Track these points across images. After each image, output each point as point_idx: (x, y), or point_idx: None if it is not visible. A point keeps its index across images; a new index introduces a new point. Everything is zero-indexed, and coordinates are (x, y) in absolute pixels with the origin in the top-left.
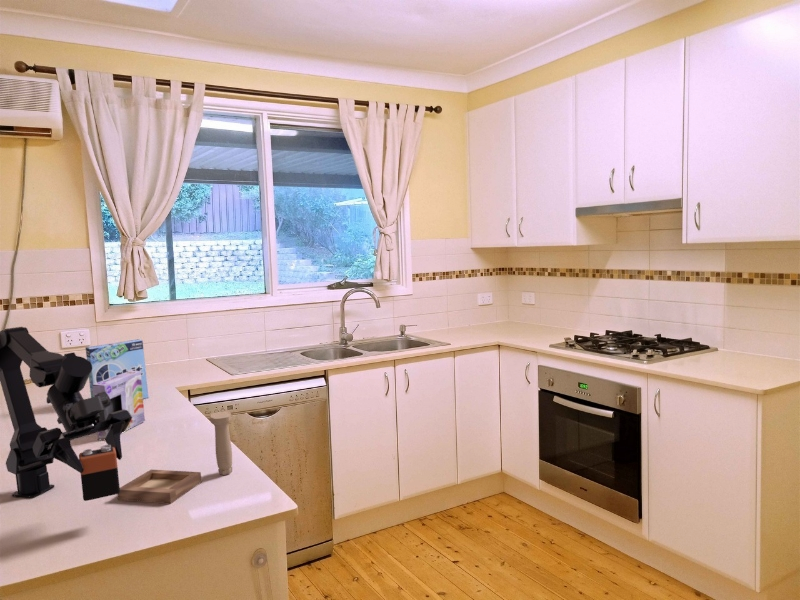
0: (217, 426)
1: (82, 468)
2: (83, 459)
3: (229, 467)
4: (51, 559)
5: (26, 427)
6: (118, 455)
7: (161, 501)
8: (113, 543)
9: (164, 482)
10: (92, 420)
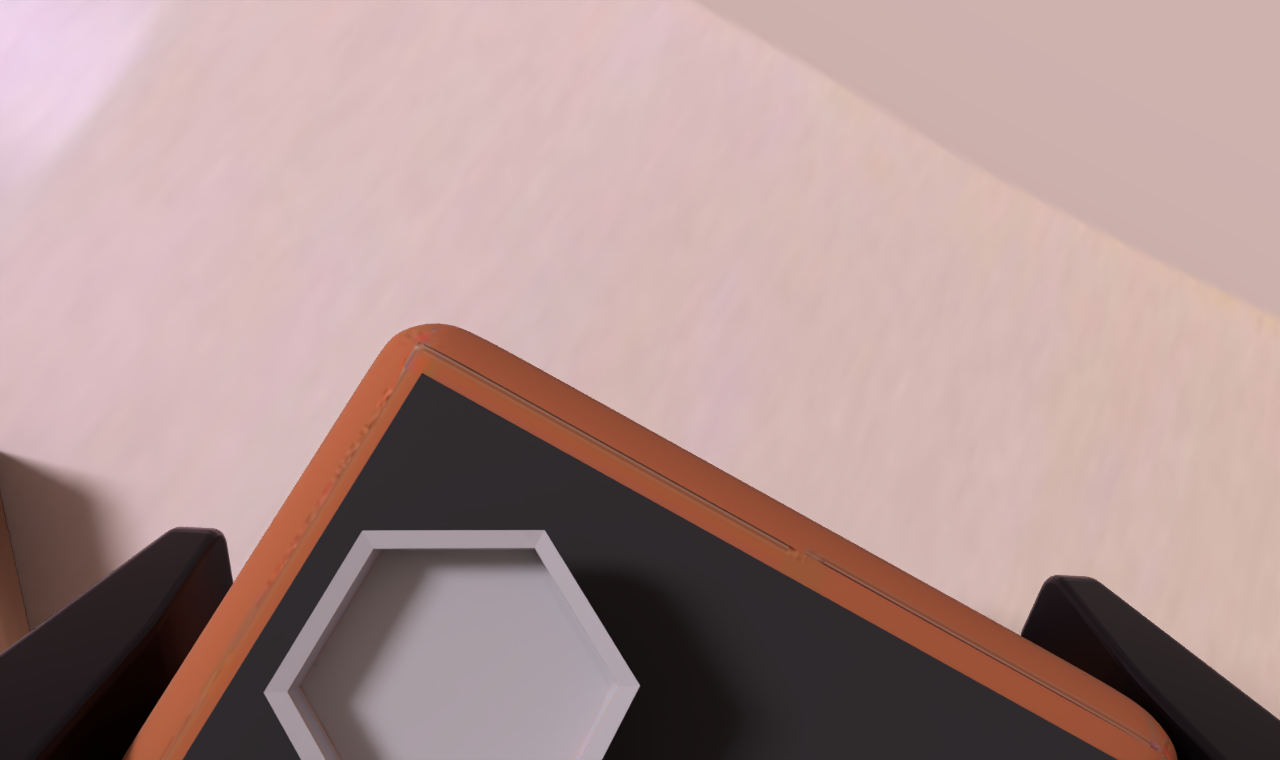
0: None
1: (1087, 585)
2: (1104, 686)
3: None
4: (1121, 453)
5: None
6: (203, 602)
7: (4, 552)
8: (747, 244)
9: None
10: None
